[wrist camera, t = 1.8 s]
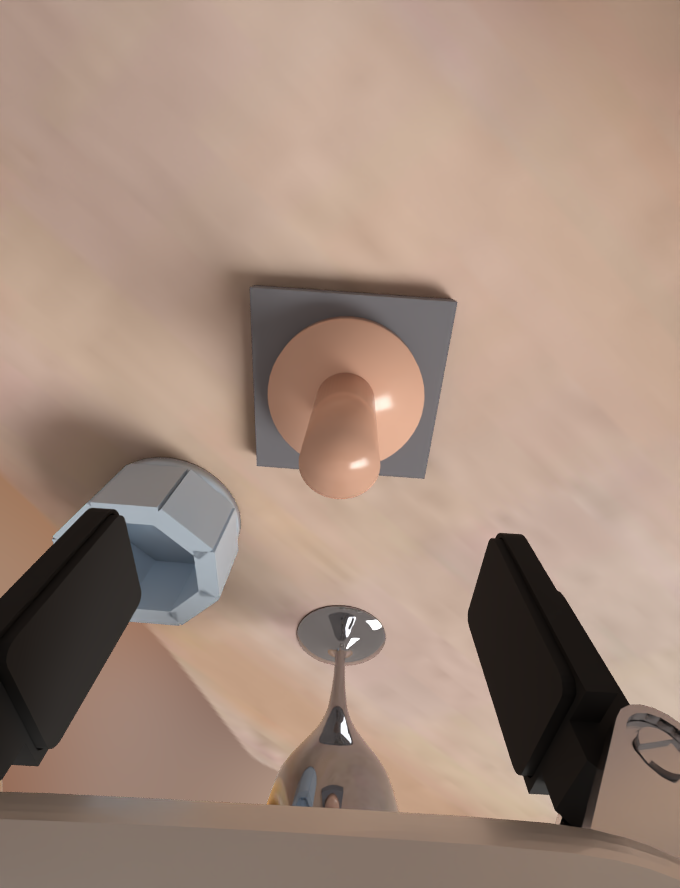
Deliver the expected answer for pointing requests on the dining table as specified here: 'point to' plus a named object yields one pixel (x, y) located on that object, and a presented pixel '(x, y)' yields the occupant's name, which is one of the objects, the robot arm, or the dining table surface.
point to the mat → (406, 316)
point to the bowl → (173, 535)
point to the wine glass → (336, 724)
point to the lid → (345, 401)
